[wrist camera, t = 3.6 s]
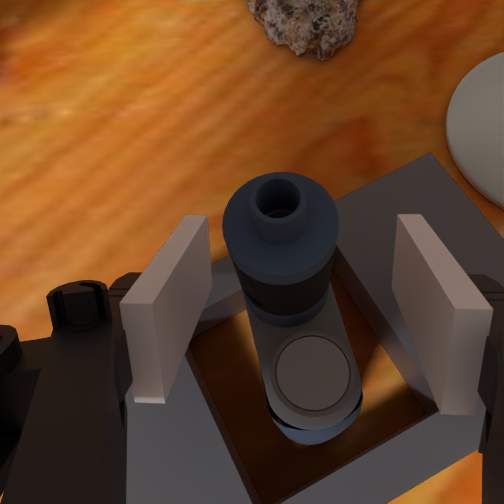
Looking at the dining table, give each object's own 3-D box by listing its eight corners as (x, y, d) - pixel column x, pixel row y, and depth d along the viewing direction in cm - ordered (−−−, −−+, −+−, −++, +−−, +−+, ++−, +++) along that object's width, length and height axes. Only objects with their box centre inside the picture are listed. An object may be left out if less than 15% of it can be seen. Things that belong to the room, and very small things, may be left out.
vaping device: (313, 306, 20) (327, 126, 9) (351, 436, 18) (428, 404, 7) (254, 321, 20) (196, 158, 9) (285, 452, 18) (258, 446, 7)
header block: (54, 372, 20) (22, 361, 18) (416, 183, 22) (430, 151, 20) (141, 636, 16) (115, 665, 14) (573, 379, 18) (612, 368, 16)
